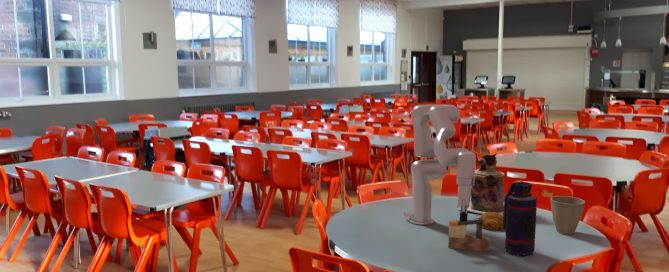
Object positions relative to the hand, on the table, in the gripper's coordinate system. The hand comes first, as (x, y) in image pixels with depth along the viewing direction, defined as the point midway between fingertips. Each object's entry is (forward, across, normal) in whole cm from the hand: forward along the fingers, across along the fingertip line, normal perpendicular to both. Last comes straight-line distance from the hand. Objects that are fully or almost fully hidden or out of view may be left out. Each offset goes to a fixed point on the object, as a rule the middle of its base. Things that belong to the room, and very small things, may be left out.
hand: (463, 221), depth 227 cm
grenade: (+12, -2, +23) cm, 26 cm away
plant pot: (+12, -36, +46) cm, 60 cm away
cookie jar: (+14, -68, +10) cm, 70 cm away
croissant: (+13, -37, +13) cm, 41 cm away
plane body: (+12, -1, +3) cm, 12 cm away
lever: (0, +2, +1) cm, 3 cm away
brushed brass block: (+7, -1, -2) cm, 7 cm away
